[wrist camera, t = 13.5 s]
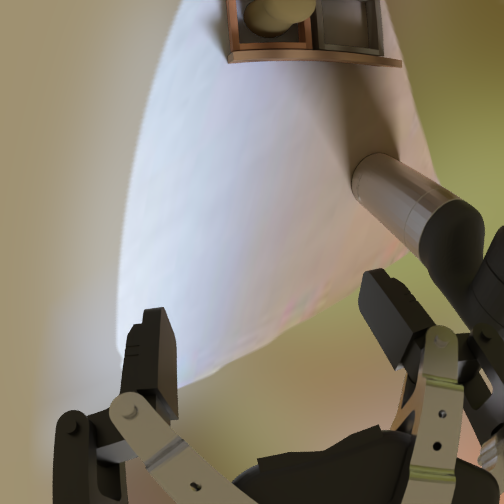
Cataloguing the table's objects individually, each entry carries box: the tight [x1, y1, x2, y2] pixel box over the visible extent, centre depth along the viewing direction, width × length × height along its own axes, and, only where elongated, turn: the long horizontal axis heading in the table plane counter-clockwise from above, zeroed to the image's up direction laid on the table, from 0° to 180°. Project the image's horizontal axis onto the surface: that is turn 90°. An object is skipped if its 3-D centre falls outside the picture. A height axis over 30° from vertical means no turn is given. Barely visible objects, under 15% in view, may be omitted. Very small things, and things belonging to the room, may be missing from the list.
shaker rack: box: [226, 0, 402, 68], centre depth 26 cm, size 21×11×6 cm, turn 94°
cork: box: [244, 0, 316, 38], centre depth 23 cm, size 6×6×11 cm
